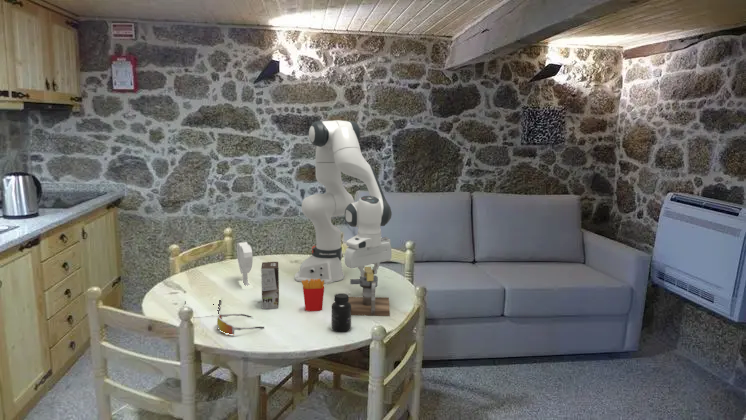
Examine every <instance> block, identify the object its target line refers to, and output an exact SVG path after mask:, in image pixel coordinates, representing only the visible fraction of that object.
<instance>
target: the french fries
mask: <svg viewBox="0 0 746 420" xmlns="http://www.w3.org/2000/svg"><path fill="white" fill-rule="evenodd" d="M301 283H302V292H303V300H304V309H305V310H304V311H306V312H320V311H323V303H324V296H325V295H324V293H325V284H324V280H323V281H322V282H321V280H320V279H315V280H314V279H310V281H309V282H308V280H305V281H302V282H301Z"/></svg>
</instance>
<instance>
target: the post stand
mask: <svg viewBox="0 0 746 420" xmlns="http://www.w3.org/2000/svg"><path fill="white" fill-rule="evenodd" d="M376 288H377V287H376V282H372V288H363V287H362V296H349V301H348V302H349V303H350V304H351V316H364V315H366V316H369V317H371V316H372V317H373V316H374V317H377V316H378V317H391V316H390V313H391V312H390V297H384V296H383V297H380V296H379V297H378V296H377V297H376Z"/></svg>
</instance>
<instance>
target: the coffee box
mask: <svg viewBox="0 0 746 420" xmlns="http://www.w3.org/2000/svg"><path fill="white" fill-rule="evenodd" d="M260 272H261V274H260V275H261V309H262V310H269V309H271V310H272V309H276V310H277V309H279V305H280V276H279V275H280V272H279V261H265V262H264V261H263V262H261V269H260Z"/></svg>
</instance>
